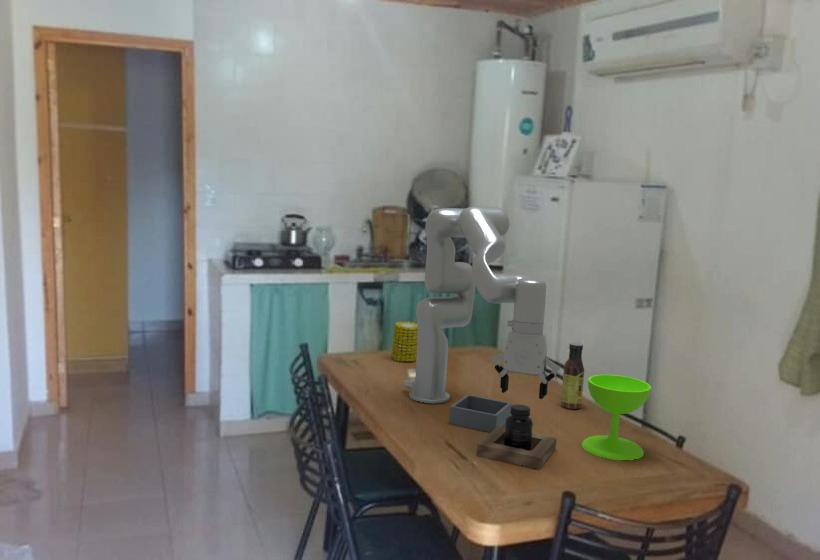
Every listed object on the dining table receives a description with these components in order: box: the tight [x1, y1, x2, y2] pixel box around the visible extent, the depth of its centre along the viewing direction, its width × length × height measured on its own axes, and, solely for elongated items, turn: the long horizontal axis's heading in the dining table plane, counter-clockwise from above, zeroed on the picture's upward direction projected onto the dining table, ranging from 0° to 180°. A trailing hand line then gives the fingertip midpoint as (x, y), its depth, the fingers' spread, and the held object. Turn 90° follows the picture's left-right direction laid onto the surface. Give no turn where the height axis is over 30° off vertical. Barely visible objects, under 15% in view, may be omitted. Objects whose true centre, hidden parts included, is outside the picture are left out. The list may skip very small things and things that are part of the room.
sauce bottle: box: [560, 342, 585, 410], centre depth 231 cm, size 7×6×20 cm
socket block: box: [476, 426, 557, 470], centre depth 192 cm, size 16×16×3 cm
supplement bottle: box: [503, 404, 534, 451], centre depth 191 cm, size 7×7×12 cm
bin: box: [448, 394, 513, 433], centre depth 213 cm, size 14×14×5 cm
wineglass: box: [581, 374, 652, 461], centre depth 197 cm, size 16×16×18 cm
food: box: [391, 321, 418, 363], centre depth 276 cm, size 15×12×10 cm
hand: (523, 394), depth 189 cm, fingers open, 9 cm apart
